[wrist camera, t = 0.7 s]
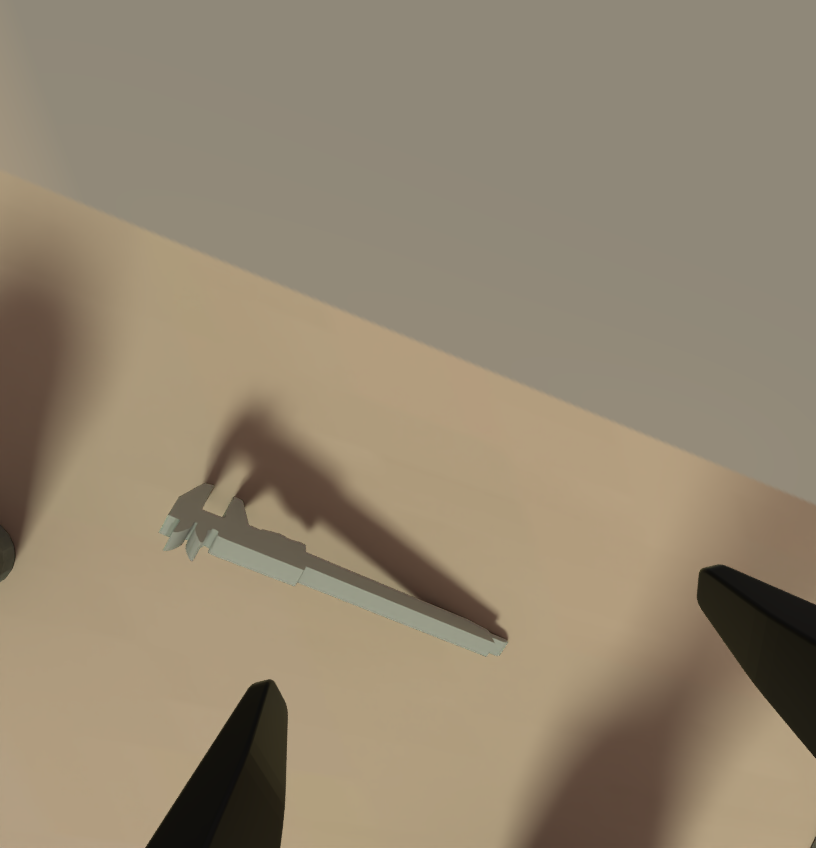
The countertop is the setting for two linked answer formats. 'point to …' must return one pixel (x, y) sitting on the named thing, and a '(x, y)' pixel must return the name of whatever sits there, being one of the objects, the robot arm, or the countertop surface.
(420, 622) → the caliper
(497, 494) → the countertop surface
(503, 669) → the countertop surface
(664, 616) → the countertop surface
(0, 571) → the beverage cup
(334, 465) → the countertop surface
